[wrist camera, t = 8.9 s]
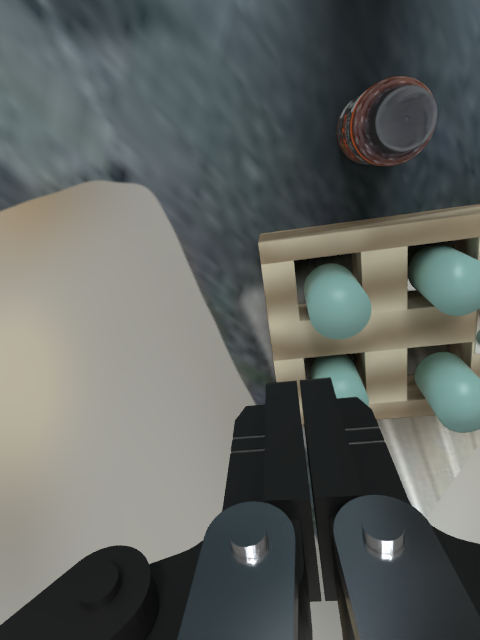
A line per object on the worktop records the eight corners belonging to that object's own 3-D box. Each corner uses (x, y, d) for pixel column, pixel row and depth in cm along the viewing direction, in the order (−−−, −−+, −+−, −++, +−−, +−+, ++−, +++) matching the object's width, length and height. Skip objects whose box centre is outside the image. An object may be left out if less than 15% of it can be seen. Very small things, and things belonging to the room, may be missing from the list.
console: (259, 233, 41) (258, 243, 36) (511, 199, 38) (548, 205, 33) (281, 400, 48) (282, 429, 43) (494, 383, 45) (522, 410, 40)
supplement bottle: (323, 119, 37) (343, 103, 26) (383, 77, 35) (431, 42, 24) (353, 177, 38) (384, 184, 28) (412, 140, 37) (469, 131, 26)
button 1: (308, 354, 42) (314, 383, 36) (355, 349, 41) (368, 379, 36) (312, 393, 44) (318, 427, 38) (357, 389, 43) (369, 423, 37)
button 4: (407, 247, 37) (431, 262, 32) (462, 240, 37) (496, 255, 31) (407, 296, 39) (430, 318, 33) (459, 290, 38) (491, 312, 33)
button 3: (414, 354, 39) (438, 386, 33) (467, 349, 38) (500, 381, 32) (414, 396, 40) (436, 434, 35) (464, 392, 40) (495, 430, 34)
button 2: (301, 266, 36) (306, 285, 31) (355, 260, 36) (370, 278, 30) (305, 316, 38) (311, 342, 32) (357, 310, 37) (372, 336, 32)
